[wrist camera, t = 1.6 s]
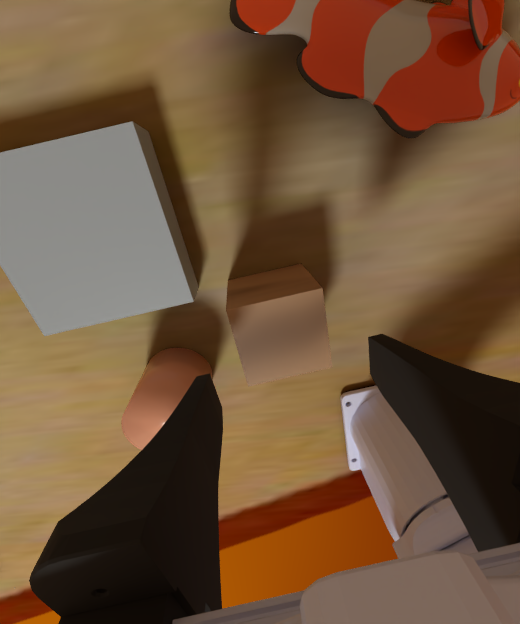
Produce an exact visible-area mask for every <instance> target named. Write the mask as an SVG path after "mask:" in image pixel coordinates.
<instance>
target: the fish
mask: <svg viewBox="0 0 520 624" xmlns="http://www.w3.org/2000/svg"><path fill="white" fill-rule="evenodd" d="M504 2H505V0H452V3H451V4H450V5H447V4H445V3H443V2H438V1H435V2H431V3H426V2H421V1H418V0H231V2H230V19H231V22H232V23H233V24H234V25H235V26H236V27H237V28H239V29H241V30H243V31H245V32H248V33H253V34H260V35H280V34H292V35H296V36H299V37H301V38H302V39H303V40H304V41H305V42H306V43H307V47H306V48H305V49H304V50H303V51H302V52H301V53H300V54H299V55H298V57H297V66H298V70H299V72H300V74H301V75H302V77H303V78H304V79H305V80H306V81H307V82H308V83H309V84H310V85H311V86H312V87H313V88H314V89H316V90H317V91H318V92H320V93H322V94H324V95H326V96H329V97H333V98H339V99H355V98H359V99H365V100H368V101H369V102H371V103H372V104H373V105H374V107H375V108H376V110H377V111H378V113H379V114H380V115H381V117H382V118H383V119H384V121H385V122H386V123H387V124H388V125H389V126H390V127H391V128H392V129H393V130H394V131H395V132H397V133H398V134H400V135H401V136H403V137H406V138H415V137H418V136H419V135H421V134H422V133H423V132H424V131H425V130H426V129H427V128H429V127H430V126H431V125H433V124H437V123H459V122H467V121H474V120H480V119H485V118H489V117H493V116H496V115H499V114H501V113H503V112H505V111H507V110H508V109H510V108H511V107H513V106H514V105H515V104H517V103H518V102H519V101H520V48H519V46H518V45H517V43H516V42H515V41H514V39H513V38H512V37H511V36H510V35H509V34H508V33H507V32H506V31H505V30H504V29H503V28H502V19H503V12H504Z"/></svg>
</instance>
